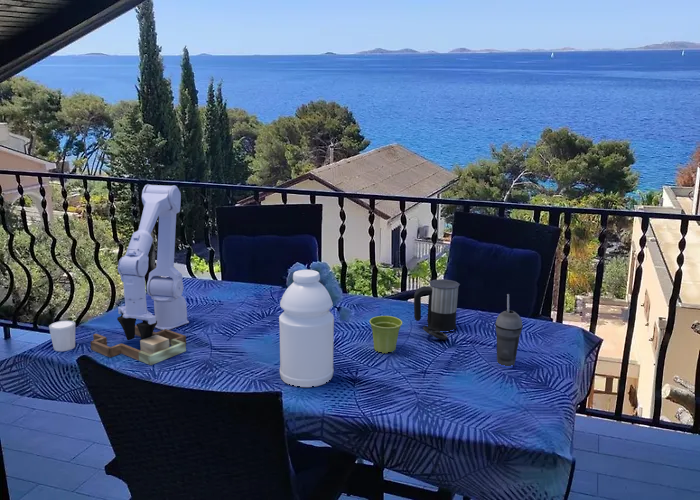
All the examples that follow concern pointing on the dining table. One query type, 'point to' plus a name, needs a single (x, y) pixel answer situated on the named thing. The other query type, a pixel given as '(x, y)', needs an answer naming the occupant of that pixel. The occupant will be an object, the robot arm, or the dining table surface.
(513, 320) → the beverage cup
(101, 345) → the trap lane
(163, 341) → the oak block
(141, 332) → the robot arm
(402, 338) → the dining table surface
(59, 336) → the white tapered cup
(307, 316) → the bottle
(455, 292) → the milk frother
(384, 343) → the plant pot
